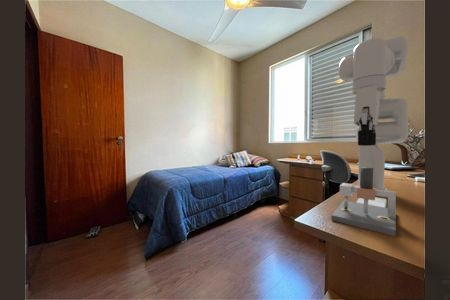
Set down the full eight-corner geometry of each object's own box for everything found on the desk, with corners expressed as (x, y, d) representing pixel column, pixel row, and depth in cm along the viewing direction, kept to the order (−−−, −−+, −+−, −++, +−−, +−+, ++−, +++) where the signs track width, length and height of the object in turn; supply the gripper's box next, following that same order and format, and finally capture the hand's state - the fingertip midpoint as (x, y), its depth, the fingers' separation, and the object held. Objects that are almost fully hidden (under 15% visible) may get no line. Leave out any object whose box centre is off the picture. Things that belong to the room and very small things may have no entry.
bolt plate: (343, 204, 67) (343, 200, 67) (395, 214, 58) (395, 209, 58) (331, 220, 54) (331, 214, 54) (395, 236, 45) (395, 229, 45)
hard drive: (360, 194, 75) (355, 202, 66) (387, 198, 70) (385, 207, 61) (360, 198, 75) (355, 206, 67) (387, 203, 70) (385, 212, 61)
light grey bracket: (342, 206, 61) (342, 182, 61) (395, 216, 52) (395, 189, 52) (339, 210, 58) (339, 185, 57) (395, 222, 49) (395, 192, 48)
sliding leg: (358, 209, 57) (359, 166, 56) (374, 213, 54) (375, 167, 53) (356, 212, 54) (357, 167, 54) (374, 216, 52) (375, 169, 51)
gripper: (357, 94, 61) (356, 145, 62) (347, 81, 49) (346, 145, 49) (386, 90, 56) (385, 145, 57) (384, 74, 44) (382, 145, 44)
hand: (367, 145), depth 53 cm, fingers open, 9 cm apart
